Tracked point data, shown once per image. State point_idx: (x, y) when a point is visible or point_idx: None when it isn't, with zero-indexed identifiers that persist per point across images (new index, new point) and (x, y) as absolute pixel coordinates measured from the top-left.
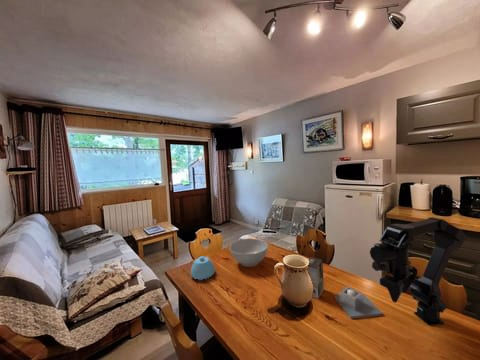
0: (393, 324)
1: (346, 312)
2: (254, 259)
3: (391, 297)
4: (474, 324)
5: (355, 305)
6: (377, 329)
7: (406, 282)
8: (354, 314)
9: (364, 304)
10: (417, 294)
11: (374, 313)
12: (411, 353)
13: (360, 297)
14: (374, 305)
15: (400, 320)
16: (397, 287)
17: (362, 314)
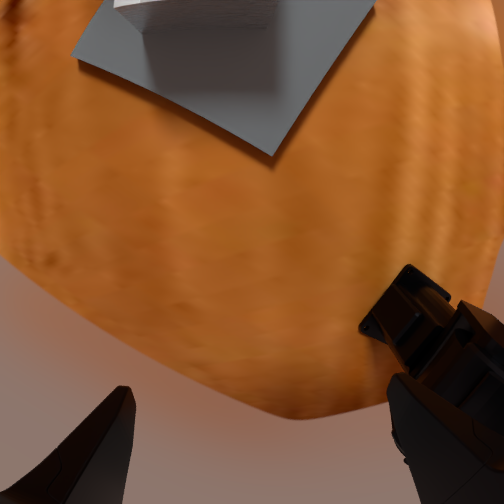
0: (233, 225)
1: (101, 14)
2: None
3: (90, 418)
4: None
5: (135, 22)
6: (115, 187)
7: (436, 488)
8: (102, 53)
9: (264, 37)
10: (438, 393)
11: (219, 121)
12: (114, 330)
13: (223, 4)
14: (311, 88)
15: (302, 237)
16: None
17: (142, 79)
